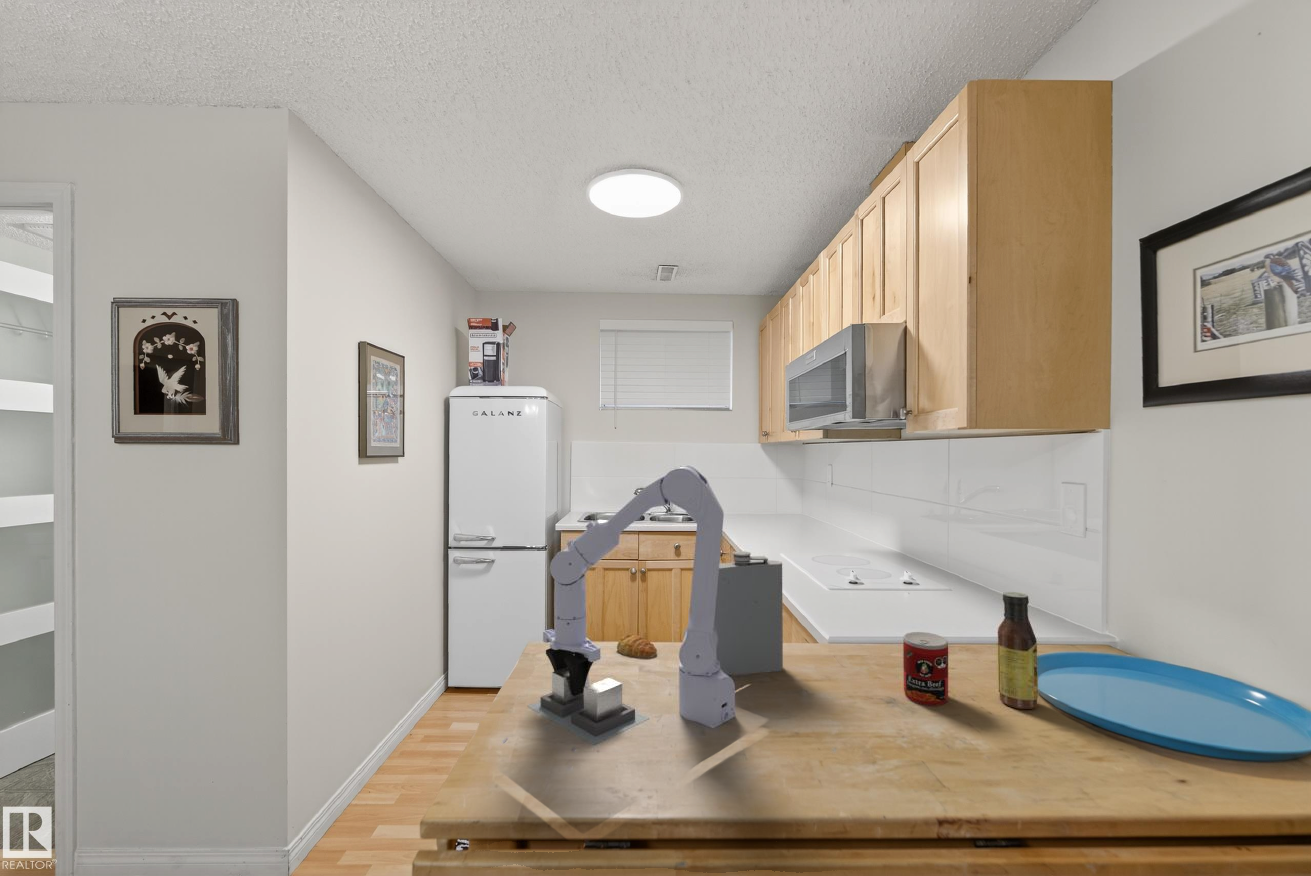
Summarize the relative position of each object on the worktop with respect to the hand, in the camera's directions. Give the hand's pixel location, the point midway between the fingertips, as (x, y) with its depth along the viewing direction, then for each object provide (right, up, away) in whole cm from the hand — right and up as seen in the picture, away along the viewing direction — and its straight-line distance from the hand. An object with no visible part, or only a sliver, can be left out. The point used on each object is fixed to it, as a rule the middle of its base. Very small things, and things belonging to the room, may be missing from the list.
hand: (570, 690), depth 106 cm
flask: (+34, -4, +17) cm, 38 cm away
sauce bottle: (+82, -3, +2) cm, 82 cm away
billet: (+6, -2, -6) cm, 9 cm away
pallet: (+3, -4, -3) cm, 6 cm away
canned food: (+66, -3, +5) cm, 66 cm away
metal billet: (0, -2, 0) cm, 2 cm away
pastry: (+11, -4, +28) cm, 31 cm away
